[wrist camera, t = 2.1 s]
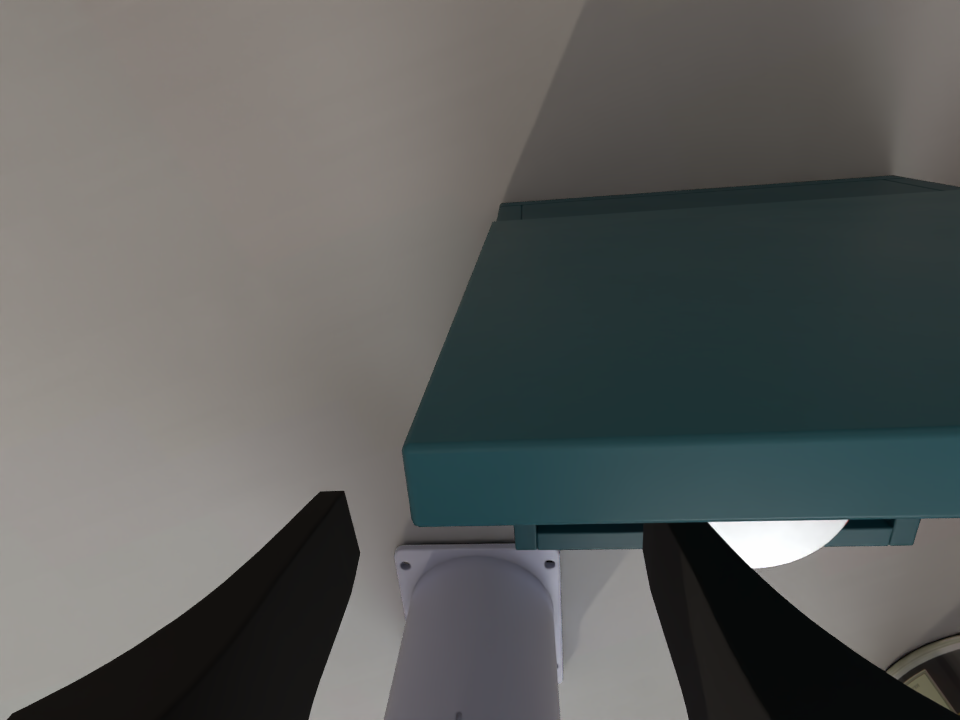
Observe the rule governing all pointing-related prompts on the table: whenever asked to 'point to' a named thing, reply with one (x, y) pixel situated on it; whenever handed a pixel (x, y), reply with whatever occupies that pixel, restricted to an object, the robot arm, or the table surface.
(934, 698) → the coffee can
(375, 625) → the table surface
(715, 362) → the cool box lid
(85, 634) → the table surface
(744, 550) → the drink can
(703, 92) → the table surface
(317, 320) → the table surface
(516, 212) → the cool box
